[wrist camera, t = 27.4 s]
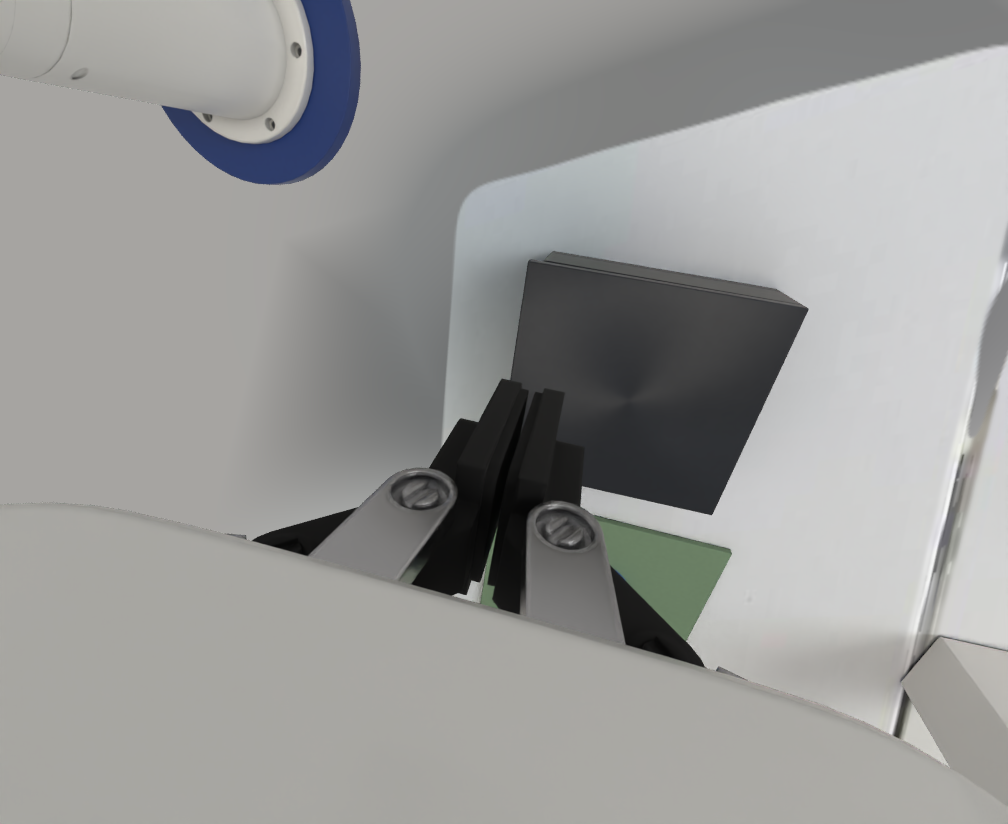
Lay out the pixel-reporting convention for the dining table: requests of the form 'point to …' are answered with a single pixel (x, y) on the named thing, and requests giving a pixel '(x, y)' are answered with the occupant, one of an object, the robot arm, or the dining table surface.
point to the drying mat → (657, 570)
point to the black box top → (651, 376)
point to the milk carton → (966, 709)
